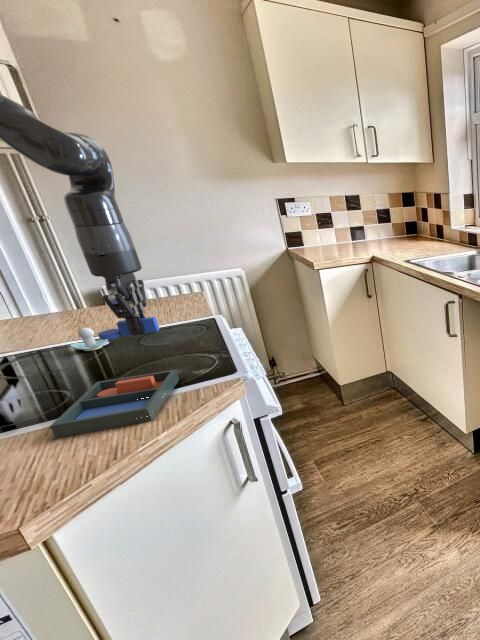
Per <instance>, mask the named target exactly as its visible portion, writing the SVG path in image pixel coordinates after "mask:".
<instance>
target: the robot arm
mask: <svg viewBox="0 0 480 640" xmlns="http://www.w3.org/2000/svg"><path fill="white" fill-rule="evenodd" d="M0 142H2V143H4V144H6V145H7V146H8V147H10V148H11V149H12V150H14V151H15V152H17V153H18V154H19V155H21V156H23V157H25V158H26V159H28V160H30V161H31V162H33V163H34V164H35V165H38V166H39V167H41V168H43V169H46V170H48V171H50V172H53V173H55V174H59V175H62V176H68V178H69V179H68V180H69V184H70V189H69V191H68V192H66V193H65V194H64V196H63V201H64V204H65V208H66V210H67V213H68V215H69V218H70V221H71V223H72V225H73V228H74V233H75V238H76V240H77V242H78V245H79V247H80V250H81V252H82V255H83V258H84V260H85V263H86V265H87V268H88V270H89V272H90V274H91V275H92V276H94V277H97V278H98V277H99V278H100V277H101V278H104V281H105V289H106V291H107V294H104V295H102V300H103V302H105V304H106V305H107V307H108V308H109V309H110V310H111V311H112V313H113V314H114V315H115V316H116V317H117V319H123V320H126V322H127V325H128V327H129V330H130V333H131V334H132V335H131V336H141V335H144V334H146V333H145V329H144V326H143V323H142V321H141V318H146V316H145V310H146V309H145V308H147V299H146V292H145V284H144V281H143V279H137V278H136V276H135V273H137V272H140V271H141V270H142V264H141V261H140V259H139V256H138V252H137V250H136V247H135V244H134V241H133V239H132V235H131V233H130V232H129V229H128V228H127V225H126V224H125V221H124V217H123V215H122V212H121V210H120V207H119V205H118V202H117V200H116V189H115V180H114V172H113V165H112V163H111V160H110V157H109V155H108V153H107V151H106V150H105V148H104V146H102V145H101V144H100V143H99V141H97V139H95V138H92V137H91V136H88V135H86V134H83V133H76V132H68V131H62V130H60V129H57V128H55V127H53V126H50V125H49V124H47V123H45V122H43V121H41V120H39V118H38V117H37V116H36V114H35V113H34V112H33V111H32V110H30V109H29V108H27V107H25V106H24V105H22V104H20V103H18V102H17V101H14V100H13V99H11V98H8V97H7V96H5V95H3V94H1V93H0Z"/></svg>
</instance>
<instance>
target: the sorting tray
mask: <svg viewBox="0 0 480 640" xmlns="http://www.w3.org/2000/svg"><path fill="white" fill-rule="evenodd" d="M146 376H153V377H154V379H155V382H156V384H157V388H153V389H147V390H141V391H135V392H129V393H123V394H117V395H111V396H105V397H99V398H98V396H97V394H98V393H99V392H101V391H104V390H106V389H110V388H116V386H115V383H116V382H117V381H121V380H127V379H133V378H140V377H146ZM179 381H180V378H179V375H178V372H177V369H170V370H164V371H157V372H152V373H145V374H138V375H132V376H126V377H125V376H124V377H119V378H113V379H106V380H100V381H96V382H95V383H94V384H93V385H92V386H91V387H90V388H89V389H88V390H86V391H85V392H84V393H83V394H82V395H81V396H80V397H79V398H78V399H77V400H76V401H75V402H73V404H72V405H70V406H69V407H68V408H67V409H66V410H65V411H64V412H63V413H62V414H61V415H60V416H58V418H56V419H55V420H54V422H52V423H51V424H50V425H49V428H50V430H51V432H52V434H53V435H54V437H55V439H59V438H65V437H70V436H75V435H76V436H77V435H81V434H86V433H91V432H97V431H104V430H109V429H112V428H118V427H119V428H120V427H123V426H124V427H125V426H129V425H134V424H139V423H146V422H151V421H153V420H154V418H155V416H156V415H157V414H158V412H159V411H160V409H161V408H162V407H163V404H164V403H165V402H166V400H167V399H168V397H169V396H170V394H171V393H172V392H173V390H174V389H175V387H176V386H177V384H178V383H179ZM165 393H166V394H165ZM164 394H165V395H164ZM163 396H164V397H163ZM146 397H149V398H146ZM162 397H163V398H162ZM141 398H144V399H141ZM137 399H138V400H137ZM161 399H162V400H161ZM159 402H160V403H159ZM152 412H153V413H152ZM150 415H151V416H150ZM146 416H148V417H146ZM141 417H142V418H141ZM136 418H137V419H136Z"/></svg>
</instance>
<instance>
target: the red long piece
mask: <svg viewBox="0 0 480 640" xmlns="http://www.w3.org/2000/svg"><path fill="white" fill-rule="evenodd" d="M115 386H116V388H110V389H106V390H104V391H101V392H99V393H98V394H97V396H98V398H99V397H105V396H111V395H117V394H123V393H129V392H135V391H141V390H147V389H153V388H157V384H156V382H155V379H154V377H153V376H146V377H140V378H133V379H127V380H121V381H117V382H116V383H115Z"/></svg>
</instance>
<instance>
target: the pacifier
mask: <svg viewBox="0 0 480 640" xmlns="http://www.w3.org/2000/svg"><path fill="white" fill-rule="evenodd" d="M77 335H78V337H80V338H81V339H82V341H83V342H73V343H70V347H71V348H73V349H76V350H78V351H80V350H81V351H83V352H92V351H97V350H99V349H102V348H103V347H104V346H107V345H109V344H110V341H108V340H109V339H106V340H102V339H98V340H95V337H94V336H95V331H94V330H93V329H92V328H89V327H82V328H79V329H78V331H77Z"/></svg>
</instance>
